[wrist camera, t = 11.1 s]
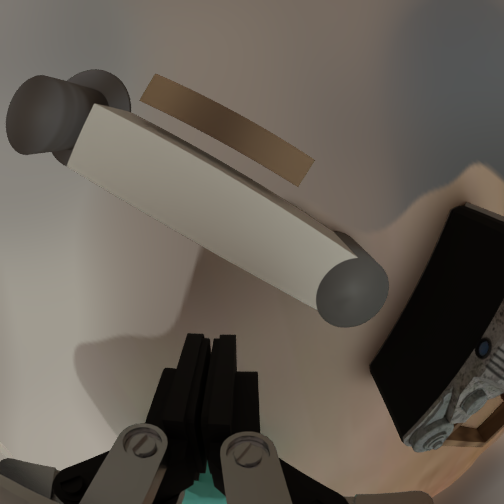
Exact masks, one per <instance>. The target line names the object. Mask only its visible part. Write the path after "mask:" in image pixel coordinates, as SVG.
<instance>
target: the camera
mask: <svg viewBox="0 0 504 504" xmlns="http://www.w3.org/2000/svg"><path fill="white" fill-rule="evenodd" d="M369 366H370V372H371V374H372V377H373V379H374V381H375V383H376V385H377V387H378V389H379V391H380V394H381V396H382V398H383V400H384V402H385V404H386V407H387V409H388V411H389V413H390V416H391V418H392V420H393V422H394V425H395V427H396V429H397V431H398V434H399V436H400V438H401V441H402V442H403V443H404V444H405V445H407V446H412V448H413V450H414V451H415V452H424V451H428V450H429V451H430V450H431V449H434V450H435V449H438V448H440V447H441V446H442V445H443V442H444V441H445V440H446V439H447V438H448V436H449V435H450V434H451V432H452V431H453V428H454V424H455V423H464V422H466V420H467V419H468V418H469V417H470V416H471V415H472V414H474V413H476V412H477V411H478V410H480V409H481V408H482V407H483V405H484V404H485V403H486V401H487V400H488V399H491V398H494V397H496V396H498V395H500V394H502V393H504V216H501V215H499V214H496V213H494V212H491V211H489V210H486V209H484V208H481V207H478V206H476V205H473V204H470V203H467V202H466V204H465V206H458V207H455V208H453V209H451V210H450V212H449V215H448V217H447V220H446V222H445V225H444V227H443V230H442V232H441V235H440V237H439V239H438V242H437V244H436V246H435V248H434V251H433V253H432V255H431V257H430V259H429V261H428V264H427V266H426V268H425V270H424V272H423V274H422V276H421V278H420V280H419V282H418V284H417V286H416V288H415V290H414V292H413V293H412V295H411V297H410V299H409V301H408V303H407V305H406V306H405V308H404V310H403V312H402V313H401V315H400V317H399V319H398V321H397V322H396V324H395V326H394V327H393V329H392V331H391V333H390V334H389V336H388V338H387V339H386V341H385V342H384V344H383V346H382V347H381V349H380V350H379V352H378V353H377V355H376V356H375V358H374V359H373V361H372V362H371V364H370V365H369Z"/></svg>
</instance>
